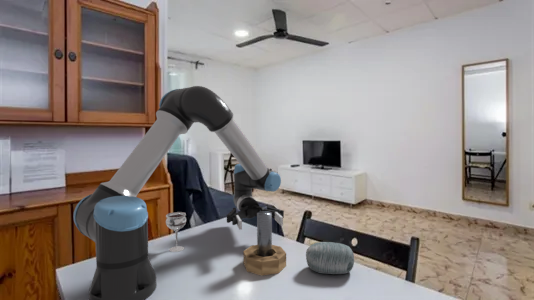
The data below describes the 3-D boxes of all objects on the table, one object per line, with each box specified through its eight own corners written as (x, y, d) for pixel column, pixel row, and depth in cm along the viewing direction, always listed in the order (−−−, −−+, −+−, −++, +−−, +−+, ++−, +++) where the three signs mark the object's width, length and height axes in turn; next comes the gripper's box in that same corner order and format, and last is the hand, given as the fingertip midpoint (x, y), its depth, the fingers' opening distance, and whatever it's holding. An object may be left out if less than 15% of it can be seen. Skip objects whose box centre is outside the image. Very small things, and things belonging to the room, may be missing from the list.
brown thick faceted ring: (249, 277, 79) (249, 263, 78) (241, 258, 90) (241, 246, 90) (290, 271, 82) (290, 258, 82) (277, 254, 94) (277, 242, 93)
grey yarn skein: (355, 253, 86) (348, 230, 82) (359, 282, 78) (351, 257, 74) (311, 258, 90) (302, 236, 86) (311, 285, 82) (301, 263, 78)
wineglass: (168, 245, 101) (168, 212, 100) (188, 244, 102) (187, 211, 101) (164, 253, 94) (163, 218, 94) (185, 252, 95) (184, 217, 94)
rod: (259, 269, 84) (259, 215, 83) (255, 262, 88) (255, 211, 87) (273, 267, 85) (273, 214, 84) (269, 260, 89) (269, 210, 88)
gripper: (278, 213, 115) (298, 231, 94) (215, 218, 108) (222, 238, 88) (278, 195, 114) (298, 208, 94) (215, 199, 107) (222, 214, 87)
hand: (261, 223), depth 91 cm, fingers open, 13 cm apart
